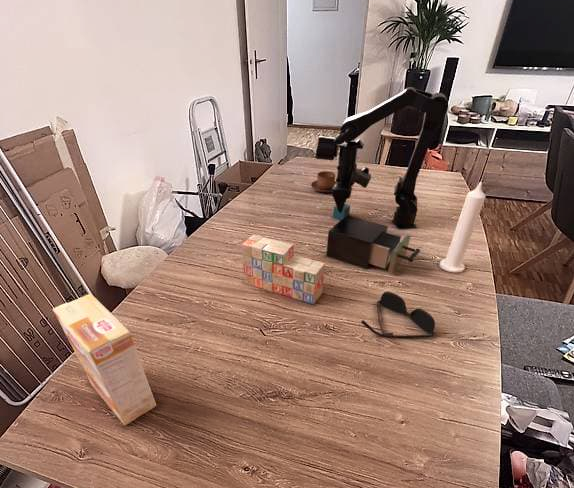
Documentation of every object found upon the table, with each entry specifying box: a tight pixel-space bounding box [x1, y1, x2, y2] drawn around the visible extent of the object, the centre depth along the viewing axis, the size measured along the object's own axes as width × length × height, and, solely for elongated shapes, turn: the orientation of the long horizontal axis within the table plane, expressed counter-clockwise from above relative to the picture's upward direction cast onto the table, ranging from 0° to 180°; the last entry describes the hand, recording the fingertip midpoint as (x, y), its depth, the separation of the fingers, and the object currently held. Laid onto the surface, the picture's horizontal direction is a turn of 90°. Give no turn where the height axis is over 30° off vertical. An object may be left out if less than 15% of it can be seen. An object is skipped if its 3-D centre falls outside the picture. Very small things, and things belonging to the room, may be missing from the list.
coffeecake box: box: [52, 293, 157, 426], centre depth 69 cm, size 15×7×20 cm, turn 45°
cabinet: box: [325, 215, 389, 270], centre depth 115 cm, size 14×13×9 cm
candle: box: [439, 181, 486, 274], centre depth 104 cm, size 7×7×25 cm
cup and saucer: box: [310, 170, 338, 193], centre depth 155 cm, size 12×12×6 cm
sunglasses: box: [361, 291, 436, 339], centre depth 89 cm, size 17×14×5 cm
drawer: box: [369, 230, 421, 274], centre depth 111 cm, size 17×11×7 cm
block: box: [332, 203, 351, 221], centre depth 136 cm, size 4×4×4 cm
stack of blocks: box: [241, 234, 326, 305], centre depth 99 cm, size 21×6×12 cm, turn 62°
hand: (342, 207), depth 135 cm, fingers open, 9 cm apart
